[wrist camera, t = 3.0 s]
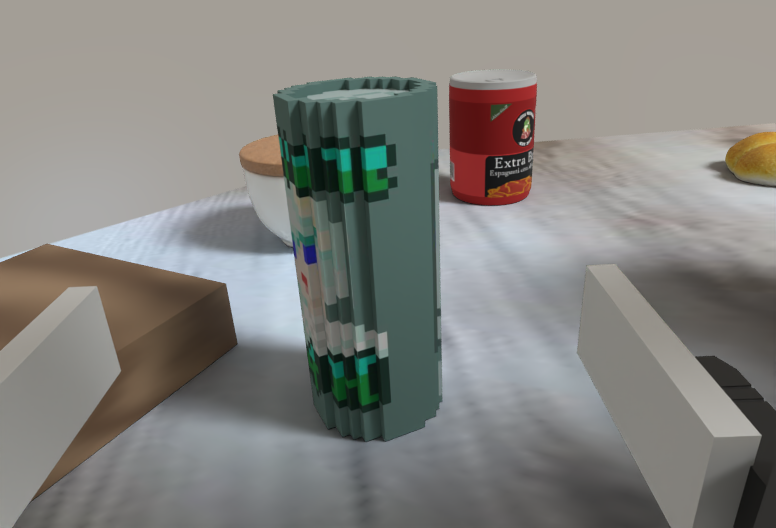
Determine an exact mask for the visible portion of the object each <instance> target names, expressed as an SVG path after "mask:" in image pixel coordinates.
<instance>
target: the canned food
mask: <svg viewBox="0 0 776 528" xmlns="http://www.w3.org/2000/svg"><path fill="white" fill-rule="evenodd" d="M536 76H537V75H536V74H535V73H532V72H528V71H522V70H478V71H469V72H463V73H458V74H455V75H453V76H451V77H450V83H449V116H450V117H449V118H450V185H451V189H452V192H453V194H454V196H455V197H457V198H458V199H460V200H462V201H464V202H468V203H472V204H478V205H506V204H512V203H516V202H519V201H521V200H523V199H524V198H526V197H527V196H528V194H529V191H530V189H531V182H532V165H533V148H534V130H535V111H536V96H537V95H536V94H537V92H536V91H537V79H536Z"/></svg>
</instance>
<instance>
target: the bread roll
mask: <svg viewBox="0 0 776 528" xmlns="http://www.w3.org/2000/svg"><path fill="white" fill-rule="evenodd" d="M725 161H726V164H727V166H728V168H729V170H730V171H731V172H732V173H734V174H735V176H736V177H737V178H738V179H739V180H741V181H744V182H749V183H753V184H760V185H767V186H774V187H776V132H763V133H758V134H755V135H752V136H749V137H747V138H745V139H743V140H741V141H740V142H738V143H736V144H735V145H734V146H732V147H731V148H730V149H729V150H728V152H727V154H726V158H725Z"/></svg>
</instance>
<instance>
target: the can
mask: <svg viewBox="0 0 776 528" xmlns="http://www.w3.org/2000/svg"><path fill="white" fill-rule="evenodd" d="M273 99H274V107H275V114H276V122H277V129H278V137H279V144H280V152H281V160H282V167H283V175H284V182H285V190H286V197H287V205H288V212H289V220H290V227H291V235H292V242H293V250H294V257H295V265H296V273H297V280H298V288H299V295H300V303H301V310H302V318H303V325H304V333H305V340H306V348H307V355H308V363H309V371H310V378H311V386H312V393H313V401H314V406H315V407H316V409H317V411H318V413H319V414H320V416H321V418H322V420H323V421H324V423H325V425H326V427H327V429H330V428H333V427H337V429H338V431H339V432H340V434H341V436H342V437H344V436H346V435H349V434H351V436H352V437H353V439H357V438H359V437H363V439H364V441H365V442H367V441H370V440H372V439H375V438H378V437H380V436H382V437H383V439H384V440H385V442H386V441H388V440H391V439H394V438H396V437H399V436H402V435H404V434H407V433H410V432H413V431H415V430H418V429H421V428H423V427H425V420H427V419H430V418H433V417H435V416H436V410H437V409H439V402H442V355H441V293H440V231H439V170H438V114H437V112H438V111H437V86H436V83H435V82H431V81H426V80H422V79H417V78H412V77H411V78H400V77H376V78H374V77H364V78H355V79H353V78H344V79H336V80H327V81H318V82H311V83H310V82H309V83H307V84H305V85H296V86H291V88H285V90H278V94H273Z"/></svg>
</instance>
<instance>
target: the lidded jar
mask: <svg viewBox="0 0 776 528" xmlns="http://www.w3.org/2000/svg"><path fill="white" fill-rule="evenodd" d="M239 156H240V162H241V165H242V167H243V171H244V177H245V182H246V187H247V191H248V194H249V197H250V200H251V203H252V205H253V207H254V210H255V212H256V214H257V216H258V217H259V219H260V220H261V222H262V223H263V224H264V225H265V226H266V227H267V228H268V229H269V230H270V231H271V232H272V233H273V234H275V235H276V236H278V237H280V238H281V239H282V241H283V243H284V244H286V245H287V246H290V247H293V242H292V235H291V227H290V220H289V212H288V205H287V197H286V190H285V182H284V175H283V167H282V160H281V152H280V144H279V137H278V135H274V136H270V137H265V138H262V139H259V140H257V141H254V142H252V143H249V144H247V145H246V146H244V147H243V148H242V149H241V151H240V153H239Z"/></svg>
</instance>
